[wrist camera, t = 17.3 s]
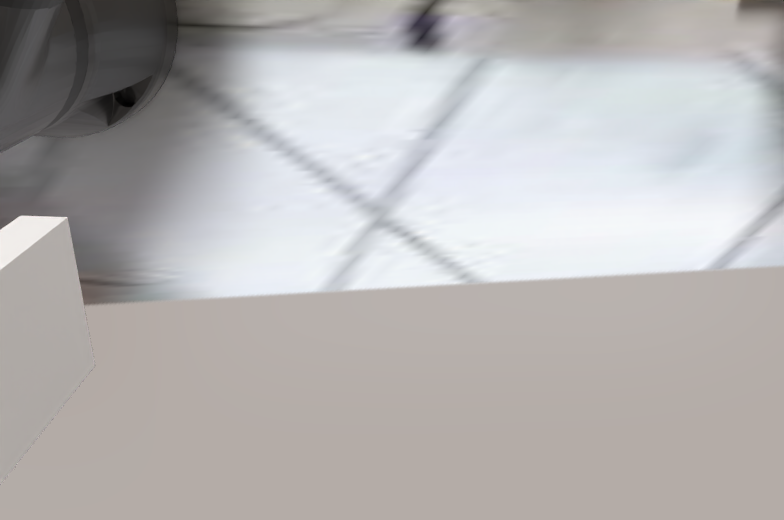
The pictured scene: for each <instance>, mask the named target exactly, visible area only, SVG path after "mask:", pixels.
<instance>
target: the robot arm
mask: <svg viewBox="0 0 784 520" xmlns="http://www.w3.org/2000/svg"><path fill="white" fill-rule="evenodd" d="M176 42H177V10H176V3H175V0H0V153H2V152H3V151H5V150H7V149H9V148H11V147H13V146H15V145H16V144H18V143H20V142H22V141H24V140H26V139H27V138H29V137H31V136H47V137H62V138H63V137H80V136H86V135H91V134H94V133H98V132H101V131H104V130H107V129H109V128H111V127H114V126H115V125H117V124H119V123H121V122H122V121H124V120H126V119H127V118H129V117H130V116H132V115H134V114H135V113H137V112H138V111H139V110H140V109H142V108H143V107H144V106H145V105H146V104H147V103H148V102H149V101H150V100H151V99H152V98H153V97H154V96H155V94H156V93H157V92H158V90H159V89H160V87H161V86H162V84H163V83H164V81H165V79H166V77H167V75H168V72H169V70H170V67H171V64H172V61H173V58H174V54H175V49H176ZM94 367H95V361H94V356H93V351H92V345H91V340H90V334H89V329H88V324H87V319H86V313H85V308H84V302H83V297H82V292H81V286H80V281H79V276H78V270H77V265H76V259H75V254H74V249H73V243H72V238H71V233H70V227H69V222H68V217H48V216H19V217H18V218H16V219H15V220H14V221H12V222H11V223H9V224H8V225H6V226H5V227H3V228H2V229H1V230H0V485H1V483H2V482H3V481H4V480H5V479H6V477H7V476H8V475H9V474H10V472H11V471H12V470H13V468H14V467H15V466H16V465H17V463H18V462H19V461H20V460H21V458H22V457H23V456H24V455H25V453H26V452H27V451H28V450H29V448H30V447H31V446H32V445H33V443H34V442H35V441H36V440H37V438H38V437H39V436H40V435H41V433H42V432H43V430H45V428H46V427H47V426H48V424H49V423H50V422H51V421H52V420H53V418H54V417H55V416H56V414H57V413H58V412H59V411H60V409H61V408H62V407H63V406H64V404H65V403H66V402H67V401H68V399H69V398H70V397H71V396H72V394H73V393H74V392H75V391H76V389H77V388H78V387H79V386H80V384H81V383H82V382H83V381H84V379H85V378H86V377H87V375H88V374H89V373H90V372H91V371H92V369H93V368H94Z"/></svg>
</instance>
